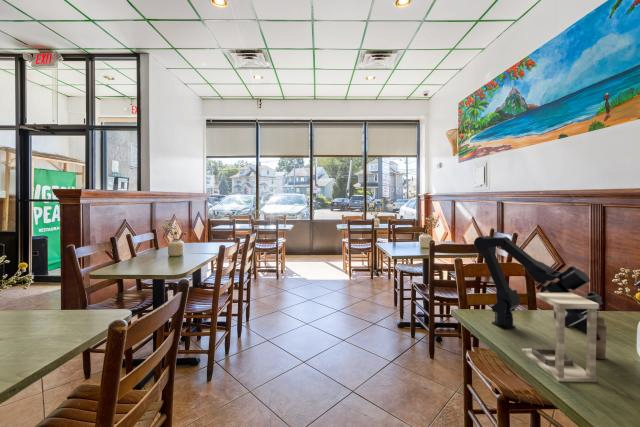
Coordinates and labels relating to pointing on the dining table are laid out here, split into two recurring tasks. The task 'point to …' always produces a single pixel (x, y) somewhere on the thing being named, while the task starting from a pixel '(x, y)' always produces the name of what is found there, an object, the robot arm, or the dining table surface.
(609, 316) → the dining table surface
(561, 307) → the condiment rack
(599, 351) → the pepper mill
